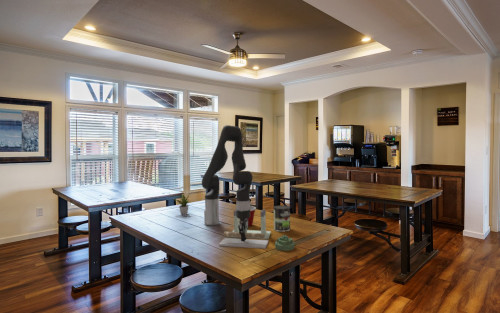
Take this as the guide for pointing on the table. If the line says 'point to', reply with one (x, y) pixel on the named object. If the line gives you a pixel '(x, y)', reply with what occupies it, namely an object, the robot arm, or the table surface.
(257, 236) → the rail
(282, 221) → the coffee can
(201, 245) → the table surface
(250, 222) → the plastic cup
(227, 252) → the table surface
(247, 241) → the mat
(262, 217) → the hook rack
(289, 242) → the decorative artifact
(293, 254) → the table surface
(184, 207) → the house plant
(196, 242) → the table surface
